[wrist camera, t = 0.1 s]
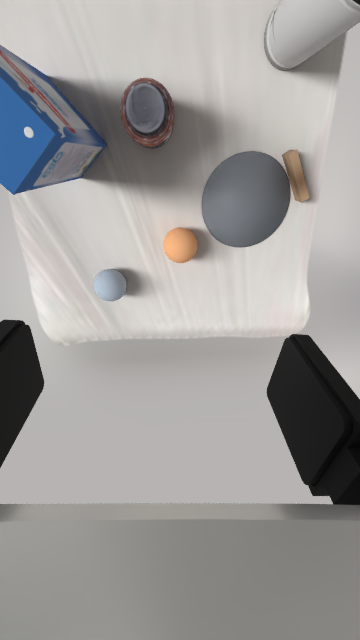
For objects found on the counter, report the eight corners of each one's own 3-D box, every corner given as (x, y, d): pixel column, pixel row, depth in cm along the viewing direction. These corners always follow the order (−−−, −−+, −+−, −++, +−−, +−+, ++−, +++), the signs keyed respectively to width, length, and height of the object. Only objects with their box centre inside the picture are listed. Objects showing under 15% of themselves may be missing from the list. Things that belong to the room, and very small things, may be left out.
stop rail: (282, 154, 38) (288, 154, 36) (290, 150, 38) (297, 149, 36) (295, 200, 42) (301, 202, 40) (302, 196, 41) (309, 198, 39)
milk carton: (19, 116, 35) (-122, 78, 18) (45, 74, 33) (-87, -14, 16) (80, 178, 39) (13, 195, 22) (107, 145, 37) (56, 134, 20)
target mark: (186, 184, 40) (186, 184, 40) (273, 130, 37) (273, 129, 37) (223, 261, 47) (223, 261, 46) (299, 220, 43) (300, 220, 43)
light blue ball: (91, 273, 47) (83, 286, 42) (116, 259, 46) (110, 270, 41) (110, 297, 50) (104, 312, 45) (134, 284, 48) (130, 297, 44)
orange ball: (157, 234, 44) (156, 243, 39) (186, 217, 43) (188, 225, 38) (173, 262, 46) (174, 273, 42) (201, 246, 45) (205, 257, 41)
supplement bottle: (180, 134, 37) (184, 127, 27) (143, 156, 38) (135, 156, 28) (160, 83, 34) (157, 55, 24) (121, 109, 35) (103, 91, 25)
